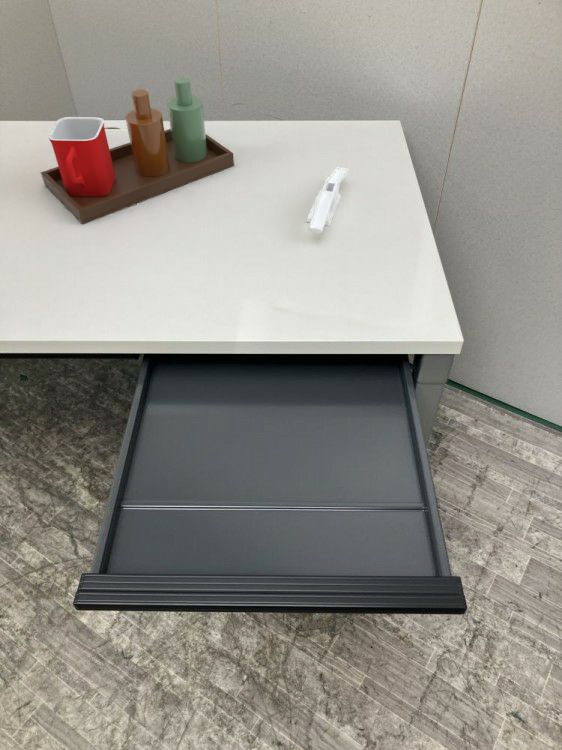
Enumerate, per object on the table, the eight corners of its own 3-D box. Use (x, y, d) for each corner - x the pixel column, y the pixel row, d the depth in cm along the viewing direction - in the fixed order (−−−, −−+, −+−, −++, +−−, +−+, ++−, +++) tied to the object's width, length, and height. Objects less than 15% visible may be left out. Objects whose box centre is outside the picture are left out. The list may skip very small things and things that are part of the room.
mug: (74, 173, 110) (58, 116, 102) (118, 173, 110) (106, 117, 102) (57, 209, 102) (39, 151, 94) (105, 210, 102) (90, 152, 94)
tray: (82, 224, 101) (78, 211, 99) (44, 185, 109) (40, 172, 107) (234, 165, 114) (233, 153, 112) (190, 134, 122) (189, 122, 120)
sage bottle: (185, 166, 112) (176, 91, 102) (168, 152, 116) (157, 78, 105) (213, 155, 115) (207, 81, 104) (195, 142, 118) (187, 69, 108)
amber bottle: (146, 180, 109) (132, 104, 98) (129, 166, 112) (114, 91, 102) (176, 169, 111) (165, 94, 101) (158, 156, 115) (146, 81, 104)
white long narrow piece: (297, 240, 98) (298, 211, 94) (326, 179, 111) (328, 151, 107) (321, 244, 97) (323, 216, 93) (347, 182, 110) (350, 154, 106)
